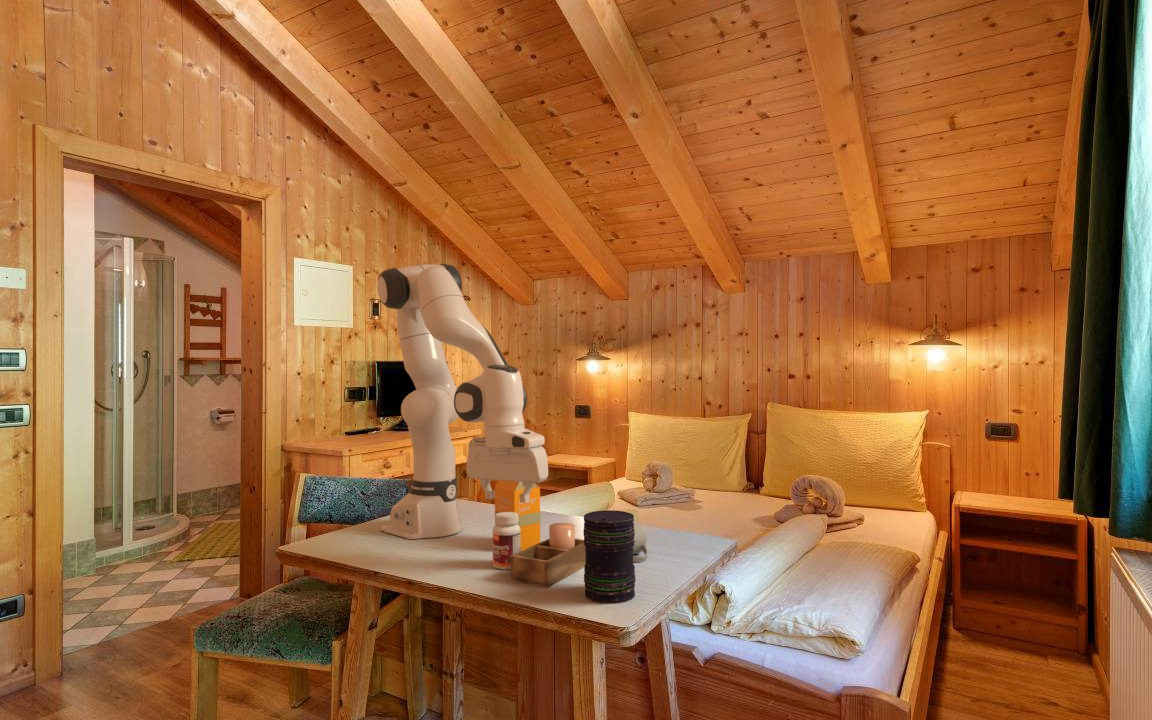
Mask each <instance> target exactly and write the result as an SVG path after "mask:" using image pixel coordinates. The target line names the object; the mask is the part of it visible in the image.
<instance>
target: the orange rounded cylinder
mask: <svg viewBox="0 0 1152 720" xmlns="http://www.w3.org/2000/svg"><path fill="white" fill-rule="evenodd" d="M548 527H549V528H548V532H549V533H548V534H549V536H548V537H549V538H548V539H549V547H553V548H559V549H566V550H569V549H571V548H573V547H575V539H576V532H575V530H576V528H575V527H576V526H575V524H574V523H570V522H556V523H551V524H549V526H548Z"/></svg>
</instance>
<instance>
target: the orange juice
mask: <svg viewBox="0 0 1152 720" xmlns="http://www.w3.org/2000/svg"><path fill="white" fill-rule="evenodd" d="M524 489H525V487H523V482H518V481H504V480H497V483H496V484H495V486H494V491H495V494H494V495H495V498H494V516H495V515H496V514H497V513H502V512H515V513H518V520H519V522H518V523H516V524H517V525H518V526H519V527H520V531H521V551H522V550H524V549H527V548H529V547H531V546H534V545H536V544H538V543H540V542H541V487H540V485H539V483H534V486H533V488H532V490H531V492H530V493H529V497H530V500H529V502H527V503H523V502H520V500H519V499H520V498H519V494H522V493H523V491H524ZM494 524H495V525H494V527H495V526H496V525H497V524H496V523H495V522H494Z"/></svg>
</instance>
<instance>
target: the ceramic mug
mask: <svg viewBox="0 0 1152 720" xmlns="http://www.w3.org/2000/svg"><path fill="white" fill-rule="evenodd" d="M633 523H634V530H635V536H634V540H635V542H634V546H633V563H643V562H642V561H644V562H645V561H646V560H647V559H648V555H649V550H648V547H647V536H646V532H645V529H644V528H643V526H642V525H641V524H640V522H638V520H635V519H634V521H633ZM642 552H643V553H644V555H643V556H637V555H636V554H640V553H642Z"/></svg>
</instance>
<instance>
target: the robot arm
mask: <svg viewBox="0 0 1152 720" xmlns="http://www.w3.org/2000/svg"><path fill="white" fill-rule="evenodd" d="M376 286H377V287H376V288H377V293H378V294H377V295H378V297H379V299H380V302H381V303H382V305H383V306H385V307H386V308H388V309H392V310H396V326H397V336H398V341H399V346H400V350H401V351H400V352H401V355H402V360H403V366H404V370H405V371H406V373H407V374H408V375H409V377H410V379H411V381H412V382H413V385H414V387H415V390H413V391H412V392H410V393H408V395H406V397H404V399H403V400H402V403H401V405H400V413H401V417H402V419H403V420H404V422H405V423H406V426H407V427H408V432H409V437H410V440H411V447H412V455H413V456H412V457H413V479H412V480H411V481H410V480H409V481H407V482H405V483H406V484H407V485H405V486H406V487H409V489H408V493H407V494H405V496H404V497H402V498H401V499H400V500H398V502H397V503H395V504H394V505H393V506H392V508H391V510H390V515H389V516H390V517H389V522H387V523H385V524H383V525H382V526H381V527H380V531H381V532H383V531H384V532H383V533H388V534H391V535H395V536H397V537H401V538H405V539H407V540H416V539H425V538H439V537H440V538H441V537H447V536H452V535H454V534H458V533H460V532H462V531H463V527H462V523H461V519H460V515H459V508H458V499H457V493H458V478H457V476H456V448H455V445H454V444H453V442H452V438H451V434H450V429H449V425H450V424H453V423H454V422H455V421H456V420H458V418H460V419H461V420H462V421H463V422H468V423H480V422H482V423H483V422H484V437H483V436H482V437H478V436H475V437H472V439H470V441H469V442H468V446H467V448H468V450H467V451H468V452H467V458H466V474H467V476H468V479H475V480H476V479H477V480H480V481H479V482H480V486H481V488H482V489H483V492H484V498H485V500H490V501H491V500H495V490H493V489H492V487H491V484H490V483H491V482H492V481H499V480H504V481H518V482H523V487H525V489H524V491H523V493H522V494H519V498H520V499H519V500H520V502H523V503H527V502H529V500H530V497H529V493H530V492H531V490H532V488H533V486H534V483H538V484H539V483H541V482H545V481H546V480H547V479H548V476H549V464H548V463H549V461H548V455H547V451H546V449H545V447H544V445H545V441H546V439H545V436H544V435H543V434H540V433H537V432H535V431H534V430H533V431H532V430H530V429H528V428H525V419H524V416H523V413H524V412H525V410H526V407H527V405H528V395H527V391H526V388H525V386H524V385H523V380H522V375H521V373H520V370H519V369H518V368H517V367H515V366H512V365H509V363H508V362H507V360H506V358H505V357H504V355H503V353H502V352H501V349H500V348H499V346H498V345H497V343H496V341H495V340H494V338H493V336H492V335H491V333H490V332H489V330H488V329H487V328H486V327H485V326H484V325H483V324H481V323H480V321H479V320H478V319H477V318H476V317H475V315H474V314H473V313H472V311H471V310H470V307H468V305H467V302H466V299H465V297H464V295H463V293H462V292H463V280H462V276H461V274H460V272H459V270H458V269H457V267H456V266H454V265H452V264H449V263H447V264H446V263H440V264H435V263H434V264H433V263H432V264H431V263H430V264H428V263H427V264H426V263H424V264H415V265H409V266H403V267H398V268H396V267H392V268H391V267H390V268H387V269H385V270H383V271H381V272H380V274H379V275H378V279H377V285H376ZM445 344H446V345H449V346H453V347H456V348H458V349H461V350H463V351H465V352H467V353H469V354H471V355H472V356H473V357H474V358H476V360H477V361H478V363H479V365H480V366H481V368H482V370H483V371H482V373H480V374H479V375H478V376H476V377H474V378H473V379H471V380H468V381H465V382H462V383H461V384H460V385H459V386H458V387H457V386H456V383H455V381H454V378H453V375H452V373H451V371H450V369H449V365H448V362H447V360H446V359H447V358H446V354H445V349H444V346H443V345H445Z"/></svg>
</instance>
